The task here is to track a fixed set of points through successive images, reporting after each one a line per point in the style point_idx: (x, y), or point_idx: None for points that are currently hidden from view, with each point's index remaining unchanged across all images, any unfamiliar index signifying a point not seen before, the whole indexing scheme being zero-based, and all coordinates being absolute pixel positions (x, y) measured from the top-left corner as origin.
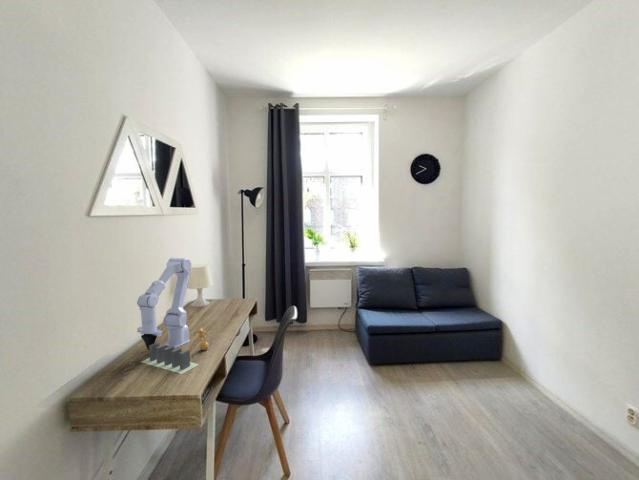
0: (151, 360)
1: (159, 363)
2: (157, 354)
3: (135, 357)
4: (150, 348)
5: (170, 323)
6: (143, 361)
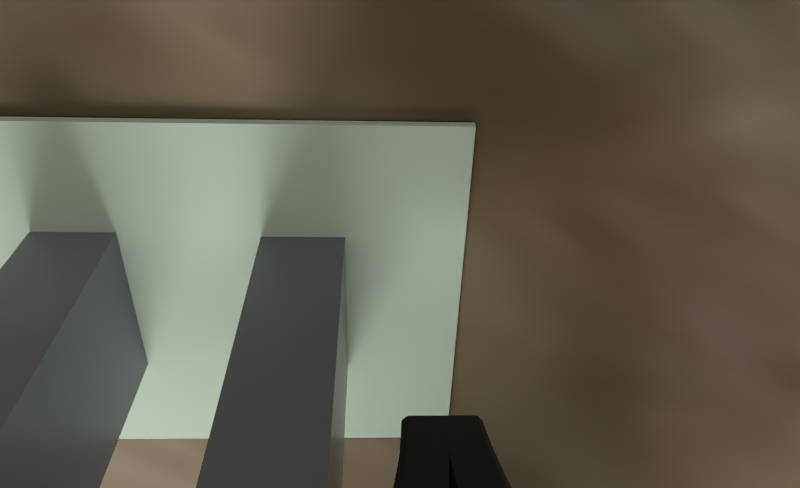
0: (291, 242)
1: (28, 228)
2: (2, 360)
3: (783, 220)
4: (268, 455)
5: None
6: (434, 162)
